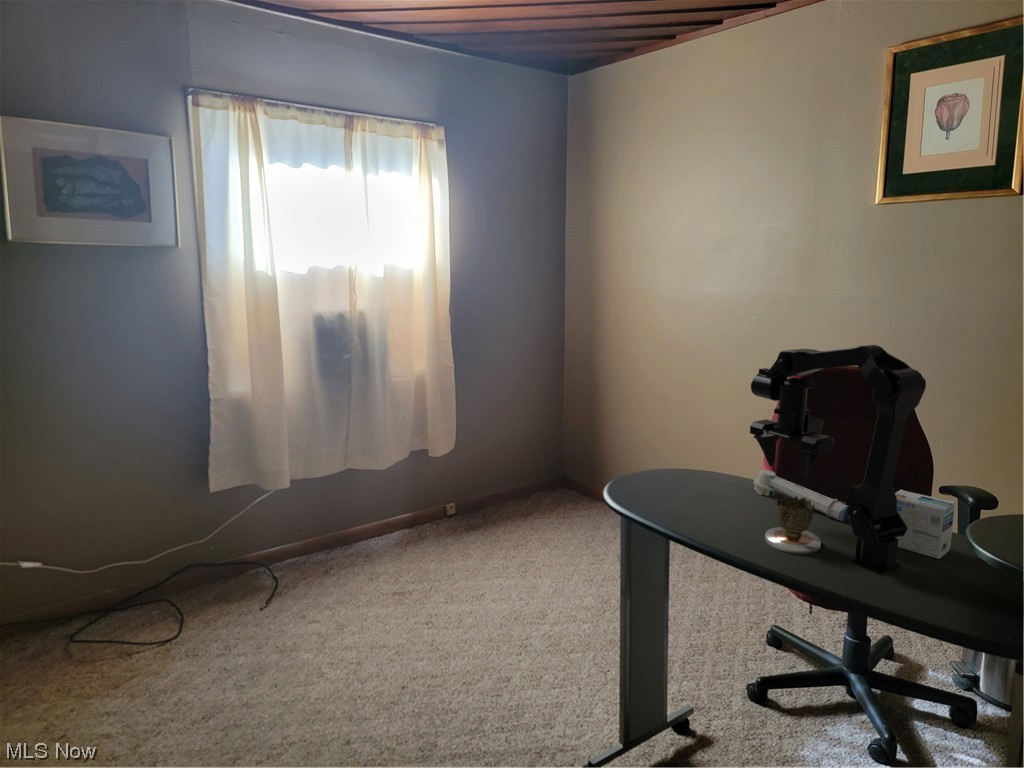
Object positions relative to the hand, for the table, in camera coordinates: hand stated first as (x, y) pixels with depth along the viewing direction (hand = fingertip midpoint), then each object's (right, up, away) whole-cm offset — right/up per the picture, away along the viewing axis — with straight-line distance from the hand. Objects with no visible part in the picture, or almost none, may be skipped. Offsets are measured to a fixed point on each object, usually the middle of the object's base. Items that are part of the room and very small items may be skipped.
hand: (787, 471), depth 152 cm
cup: (-3, -13, -9) cm, 16 cm away
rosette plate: (-3, -14, -9) cm, 17 cm away
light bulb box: (+22, -15, -12) cm, 29 cm away
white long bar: (+8, -10, +12) cm, 18 cm away
